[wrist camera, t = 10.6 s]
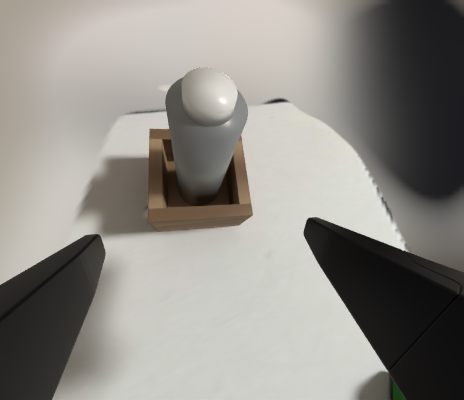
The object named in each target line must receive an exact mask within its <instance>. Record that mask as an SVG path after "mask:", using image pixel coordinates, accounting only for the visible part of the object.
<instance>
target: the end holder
mask: <svg viewBox="0 0 464 400" xmlns="http://www.w3.org/2000/svg"><path fill="white" fill-rule="evenodd" d="M252 215H253V213H252V206H251V199H250V193H249V186H248V179H247V172H246V165H245V158H244V152H243V145H242V138H241V136H240V138H239V141H238V143H237V146H236V148H235V151H234V153H233V156H232V158H231V161H230V163H229V166H228V168H227V171H226V173H225V176H224V178H223V181H222V183H221V186H220V188H219V191H218V193H217V196H216V198H215V199H214V200H213V201H212V202H211V203H209V204H208V205H205V206H193V205H190V204H188V203H187V202H185V201H184V200H183V199H182V197H181V195H180V193H179V187H178V181H177V175H176V168H175V162H174V155H173V149H172V142H171V136H170V130H169V129H150V136H149V198H148V222H149V223H150V224H151V225H152V226H153V227H154V228H155V229H156V230H157V231H158V232H159V231H172V230H185V229H197V228H210V227H223V226H235V225H240V224H241V223H243V222H244V221H245V220H247V219H248V218H249V217H251V216H252Z"/></svg>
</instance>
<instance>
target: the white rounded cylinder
mask: <svg viewBox="0 0 464 400" xmlns="http://www.w3.org/2000/svg"><path fill="white" fill-rule="evenodd" d="M166 110H167V117H168V123H169V130H170V136H171V142H172V149H173V155H174V162H175V168H176V175H177V181H178V187H179V193H180V195H181V197H182V199H183V200H184V201H185V202H187V203H188V204H190V205H193V206H205V205H208V204H209V203H211V202H212V201H213V200H214V199H215V198H216V196H217V193H218V191H219V188H220V186H221V183H222V181H223V178H224V176H225V173H226V171H227V168H228V166H229V163H230V161H231V158H232V156H233V153H234V151H235V148H236V146H237V143H238V141H239V138H240V136H241V133H242V131H243V128H244V126H245V123H246V120H247V116H248V110H247V105H246V102H245V100H244V98H243V96H242V95H241V93H240V92H239V91H238V90H237V88H236V86H235V84H234V82H233V81H232V80H231V79H230V78H229V77H228V76H227V75H226V74H224V73H222V72H220V71H218V70H215V69H211V68H197V69H194V70H191V71H190V72H188V73H187V74H186V75H185V76H184V77H183V78H181V79H179V80H178V81H176V82H175V83H174V84H173V85H172V86H171V87H170V89H169V90H168V92H167V95H166Z"/></svg>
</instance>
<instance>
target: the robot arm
mask: <svg viewBox="0 0 464 400" xmlns="http://www.w3.org/2000/svg"><path fill="white" fill-rule="evenodd" d="M304 237H305V239H306V241H307V243H308V245H309V247H310V249H311V250H312V252H313V254H314V256H315V258H316V260H317V262H318V264H319V265H320V267H321V268H322V270H323V272H324V273H325V275H326V276H327V278H328V279H329V281H330V282H331V284H332V285H333V287H334V289H335V290H336V292H337V293H338V295H339V296H340V298H341V299H342V301H343V302H344V304H345V306H346V307H347V309H348V310H349V312H350V313H351V315H352V316H353V318H354V319H355V321H356V323H357V324H358V326H359V327H360V329H361V330H362V332H363V333H364V335H365V336H366V338H367V340H368V341H369V343H370V344H371V346H372V347H373V349H374V350H375V352H376V354H377V355H378V357H379V358H380V360H381V361H382V363H383V364H384V366H385V367H386V369H387V370H388V371H389V374H390V375H391V377H392V379H393V380H394V382H395V383H396V385H397V386H398V388H399V389H400V391H401V393H402V394H403V396H404V397H405V399H406V400H464V272H461V271H458V270H455V269H452V268H449V267H447V266H444V265H441V264H438V263H435V262H433V261H430V260H427V259H424V258H422V257H419V256H417V255H414V254H411V253H409V252H406V251H402V250H401V249H398V248H396V247H393V246H390V245H388V244H385V243H383V242H380V241H377V240H375V239H372V238H369V237H367V236H364V235H362V234H359V233H356V232H354V231H351V230H349V229H346V228H343V227H341V226H338V225H336V224H333V223H330V222H328V221H325V220H323V219H320V218H317V217H312V218H308V219H307V222H306V225H305V229H304ZM104 259H105V249H104V245H103V242H102V239H101V236H100V235H98V234H93V235H85V236H84V237H82V238H80V239H78V240H77V241H75V242H73V243H72V244H70V245H68V246H66V247H65V248H63V249H61V250H60V251H58V252H56V253H55V254H53V255H51V256H49V257H48V258H46V259H44V260H42V261H41V262H39V263H37V264H36V265H34V266H32V267H31V268H29V269H27V270H25V271H24V272H22V273H20V274H18V275H17V276H15V277H13V278H12V279H10V280H8V281H6V282H5V283H3V284H1V285H0V400H52V398H53V396H54V394H55V391H56V389H57V386H58V384H59V381H60V379H61V376H62V374H63V371H64V369H65V366H66V364H67V362H68V359H69V357H70V354H71V352H72V349H73V347H74V344H75V342H76V339H77V337H78V334H79V332H80V329H81V327H82V325H83V322H84V320H85V317H86V315H87V312H88V310H89V307H90V305H91V302H92V300H93V297H94V294H95V291H96V288H97V284H98V281H99V277H100V273H101V270H102V266H103V263H104Z"/></svg>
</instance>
